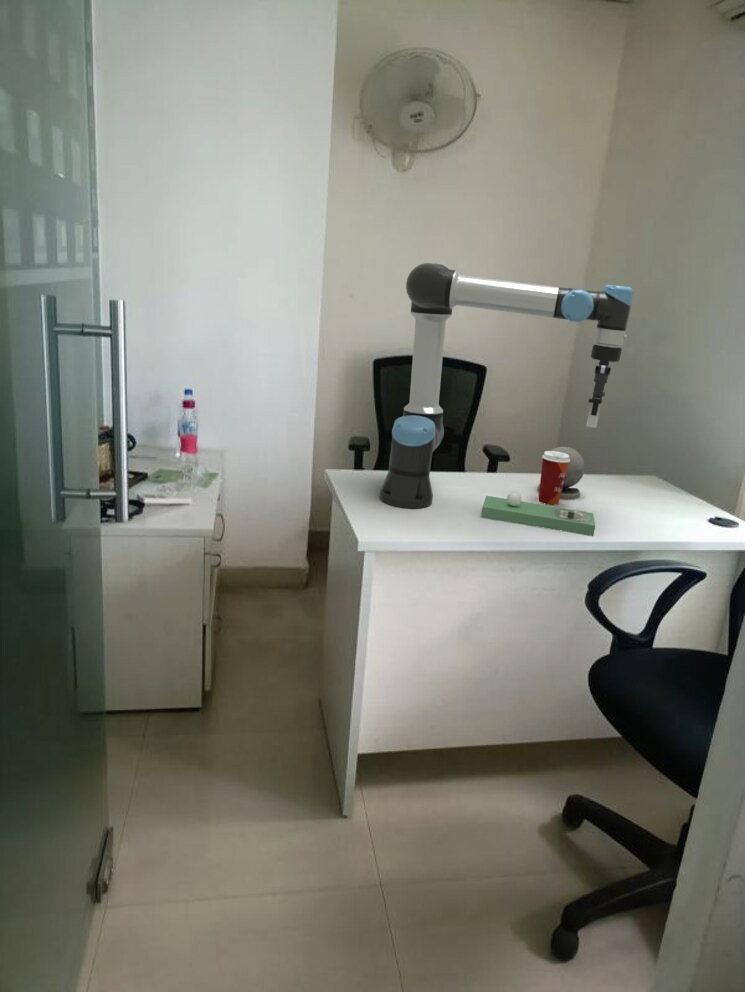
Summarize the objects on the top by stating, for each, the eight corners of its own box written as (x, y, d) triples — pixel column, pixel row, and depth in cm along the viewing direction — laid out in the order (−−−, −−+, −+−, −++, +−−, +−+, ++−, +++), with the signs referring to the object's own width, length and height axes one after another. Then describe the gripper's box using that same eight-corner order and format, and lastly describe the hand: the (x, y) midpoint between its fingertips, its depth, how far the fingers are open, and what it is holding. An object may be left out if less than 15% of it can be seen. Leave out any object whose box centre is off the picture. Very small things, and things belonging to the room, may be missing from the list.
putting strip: (481, 517, 194) (482, 506, 193) (484, 505, 205) (486, 495, 204) (593, 536, 188) (595, 525, 187) (591, 522, 199) (593, 512, 198)
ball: (505, 506, 196) (507, 493, 194) (506, 502, 199) (508, 489, 198) (519, 509, 195) (522, 495, 193) (520, 504, 198) (522, 491, 197)
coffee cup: (562, 507, 209) (571, 459, 205) (534, 503, 211) (543, 455, 206) (561, 499, 217) (570, 452, 213) (534, 495, 219) (542, 448, 214)
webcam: (584, 493, 226) (593, 448, 221) (571, 502, 215) (581, 455, 211) (545, 484, 232) (553, 440, 227) (531, 492, 222) (539, 446, 217)
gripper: (622, 350, 177) (605, 433, 184) (622, 343, 200) (606, 417, 207) (591, 346, 179) (575, 428, 186) (594, 340, 202) (580, 413, 209)
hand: (592, 422), depth 196 cm, fingers open, 13 cm apart
